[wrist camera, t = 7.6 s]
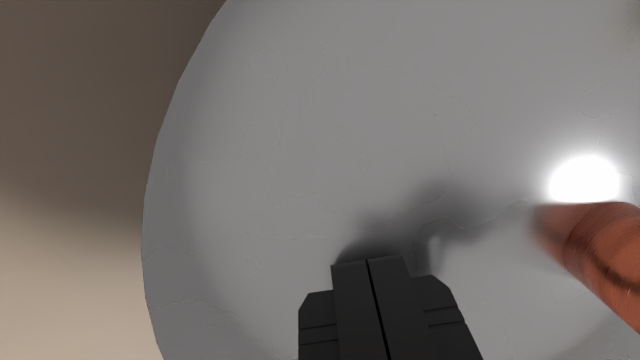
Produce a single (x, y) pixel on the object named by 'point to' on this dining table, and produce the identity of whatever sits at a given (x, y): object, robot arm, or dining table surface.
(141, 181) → the dining table surface
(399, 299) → the robot arm
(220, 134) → the lid
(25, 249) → the dining table surface
